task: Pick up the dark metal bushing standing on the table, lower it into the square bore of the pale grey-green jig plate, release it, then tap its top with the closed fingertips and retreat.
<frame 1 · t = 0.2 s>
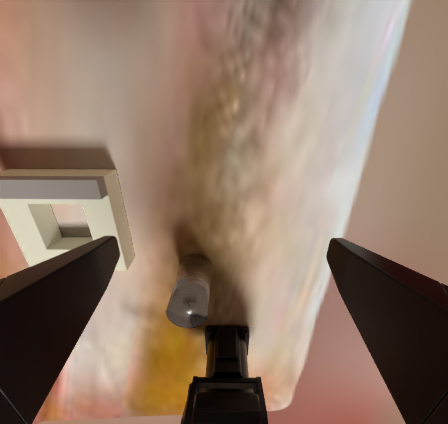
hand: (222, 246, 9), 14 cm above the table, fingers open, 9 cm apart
jig: (78, 217, 25), on the table
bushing: (196, 267, 27), on the table
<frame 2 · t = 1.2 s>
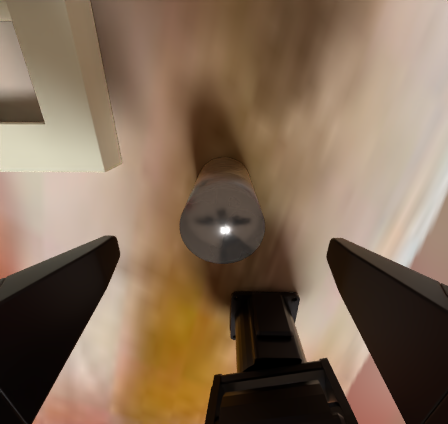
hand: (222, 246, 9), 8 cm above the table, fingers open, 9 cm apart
jig: (18, 75, 14), on the table
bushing: (224, 183, 17), on the table
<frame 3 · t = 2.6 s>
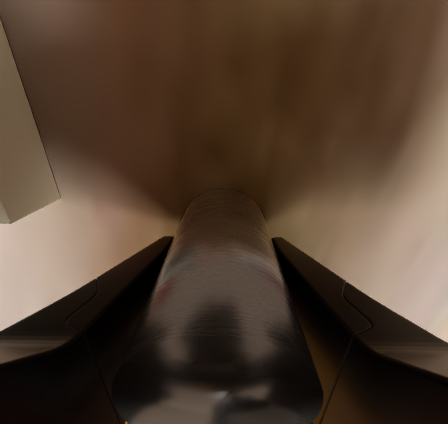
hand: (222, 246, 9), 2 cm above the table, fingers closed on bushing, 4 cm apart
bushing: (223, 228, 11), on the table, touching gripper
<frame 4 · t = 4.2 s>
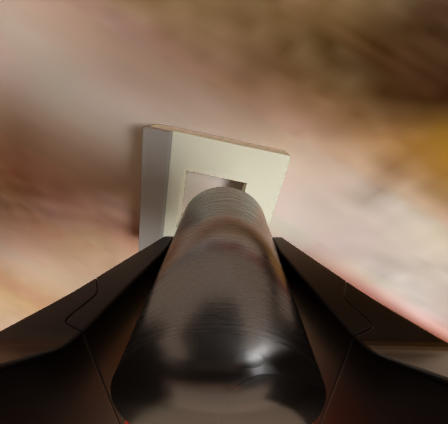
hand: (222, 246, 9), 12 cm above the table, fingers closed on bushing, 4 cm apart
jig: (211, 195, 21), on the table
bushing: (223, 226, 10), point 10 cm above the table, touching gripper
when the fingers open (3 cm above the table, at t = 6.0 s): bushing drops 1 cm, resting in jig.
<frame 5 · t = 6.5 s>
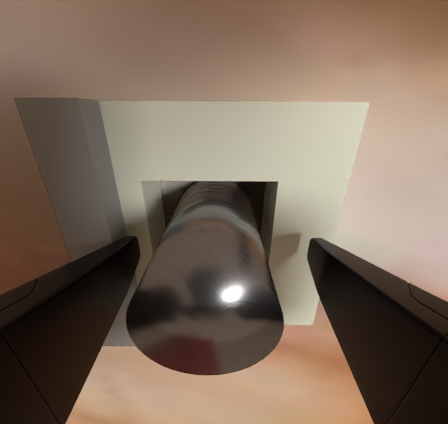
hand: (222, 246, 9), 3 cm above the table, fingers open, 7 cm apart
jig: (213, 215, 12), on the table
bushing: (215, 212, 12), resting in jig
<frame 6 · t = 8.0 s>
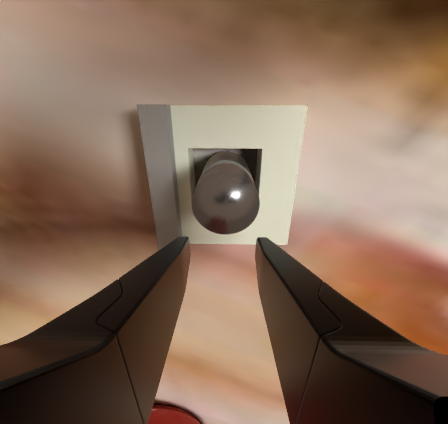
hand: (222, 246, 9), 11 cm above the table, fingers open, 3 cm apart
mixing bowl: (162, 423, 38), on the table
jig: (225, 175, 19), on the table
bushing: (226, 174, 19), resting in jig
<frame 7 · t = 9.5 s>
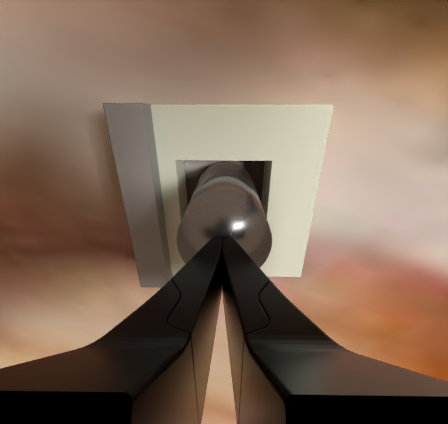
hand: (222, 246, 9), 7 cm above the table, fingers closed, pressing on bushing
jig: (224, 191, 15), on the table
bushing: (225, 189, 15), resting in jig, touching gripper
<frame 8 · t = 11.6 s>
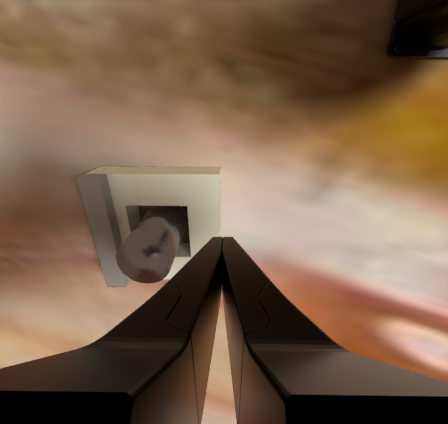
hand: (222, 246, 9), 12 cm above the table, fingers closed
jig: (166, 220, 22), on the table
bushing: (167, 219, 22), resting in jig
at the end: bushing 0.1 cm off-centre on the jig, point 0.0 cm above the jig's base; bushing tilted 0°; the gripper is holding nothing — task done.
